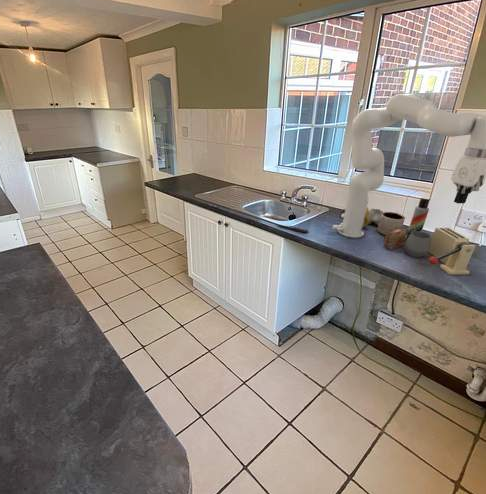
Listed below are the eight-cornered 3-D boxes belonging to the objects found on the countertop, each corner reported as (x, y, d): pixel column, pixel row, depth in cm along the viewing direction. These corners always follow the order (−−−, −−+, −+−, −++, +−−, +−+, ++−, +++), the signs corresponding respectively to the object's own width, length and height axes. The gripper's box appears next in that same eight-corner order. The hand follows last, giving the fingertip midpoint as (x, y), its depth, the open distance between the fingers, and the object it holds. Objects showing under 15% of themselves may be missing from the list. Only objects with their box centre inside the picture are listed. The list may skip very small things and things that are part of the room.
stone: (371, 222, 168) (369, 229, 161) (351, 224, 174) (348, 231, 166) (368, 200, 164) (367, 207, 156) (348, 202, 170) (345, 209, 162)
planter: (395, 229, 165) (400, 212, 161) (403, 237, 155) (409, 220, 151) (374, 227, 166) (378, 211, 162) (381, 236, 157) (385, 218, 152)
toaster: (445, 264, 132) (455, 239, 126) (427, 251, 142) (435, 227, 137) (459, 264, 132) (469, 239, 126) (439, 251, 142) (448, 227, 137)
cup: (411, 260, 135) (418, 239, 130) (398, 250, 143) (404, 230, 139) (431, 258, 136) (439, 238, 131) (416, 249, 144) (423, 229, 140)
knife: (277, 224, 170) (275, 226, 168) (278, 223, 170) (276, 224, 168) (307, 231, 162) (305, 233, 160) (308, 230, 162) (306, 232, 159)
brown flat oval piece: (386, 251, 142) (391, 235, 138) (380, 248, 145) (384, 232, 141) (406, 244, 148) (411, 228, 145) (400, 241, 151) (405, 226, 147)
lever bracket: (449, 274, 124) (461, 246, 119) (439, 266, 130) (450, 239, 124) (469, 274, 125) (481, 246, 119) (458, 266, 130) (469, 239, 124)
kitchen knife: (349, 209, 192) (346, 208, 193) (349, 208, 191) (346, 207, 192) (343, 218, 178) (339, 218, 179) (343, 217, 178) (339, 216, 179)
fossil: (374, 207, 184) (394, 201, 169) (380, 224, 183) (400, 220, 169) (350, 215, 180) (368, 210, 165) (356, 233, 179) (375, 229, 165)
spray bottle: (405, 235, 157) (417, 198, 148) (408, 232, 161) (420, 195, 152) (418, 238, 154) (431, 201, 145) (420, 235, 158) (433, 198, 149)
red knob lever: (432, 267, 124) (431, 261, 123) (427, 263, 127) (425, 257, 126) (471, 250, 121) (469, 244, 120) (465, 246, 124) (463, 240, 123)
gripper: (452, 149, 114) (436, 196, 122) (485, 157, 101) (464, 209, 109) (472, 149, 114) (454, 196, 122) (507, 157, 101) (485, 209, 109)
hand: (459, 202), depth 116 cm, fingers closed
